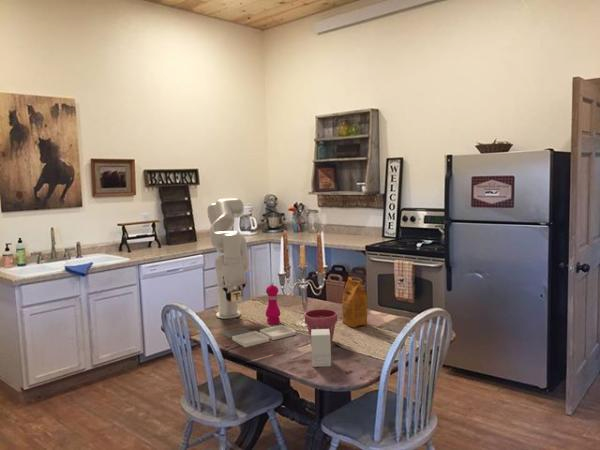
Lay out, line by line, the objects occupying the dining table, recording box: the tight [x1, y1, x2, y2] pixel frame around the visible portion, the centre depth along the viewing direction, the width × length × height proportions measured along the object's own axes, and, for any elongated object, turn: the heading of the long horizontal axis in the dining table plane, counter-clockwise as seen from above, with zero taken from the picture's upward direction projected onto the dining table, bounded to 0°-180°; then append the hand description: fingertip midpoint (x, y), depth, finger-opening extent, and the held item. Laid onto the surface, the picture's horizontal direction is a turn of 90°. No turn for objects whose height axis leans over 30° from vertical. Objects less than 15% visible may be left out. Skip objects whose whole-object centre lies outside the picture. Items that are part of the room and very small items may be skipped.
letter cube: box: [228, 288, 243, 303], centre depth 236 cm, size 5×5×5 cm
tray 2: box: [259, 324, 297, 341], centre depth 234 cm, size 12×12×2 cm
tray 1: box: [231, 330, 270, 348], centre depth 227 cm, size 12×12×2 cm
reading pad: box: [219, 326, 253, 339], centre depth 238 cm, size 10×12×1 cm
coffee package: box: [341, 276, 368, 328], centre depth 245 cm, size 10×12×22 cm
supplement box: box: [310, 329, 332, 368], centre depth 199 cm, size 7×7×13 cm
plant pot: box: [304, 308, 338, 344], centre depth 223 cm, size 14×14×13 cm
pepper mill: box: [265, 282, 281, 325], centre depth 252 cm, size 7×7×20 cm
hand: (234, 299), depth 236 cm, fingers closed on letter cube, 4 cm apart
